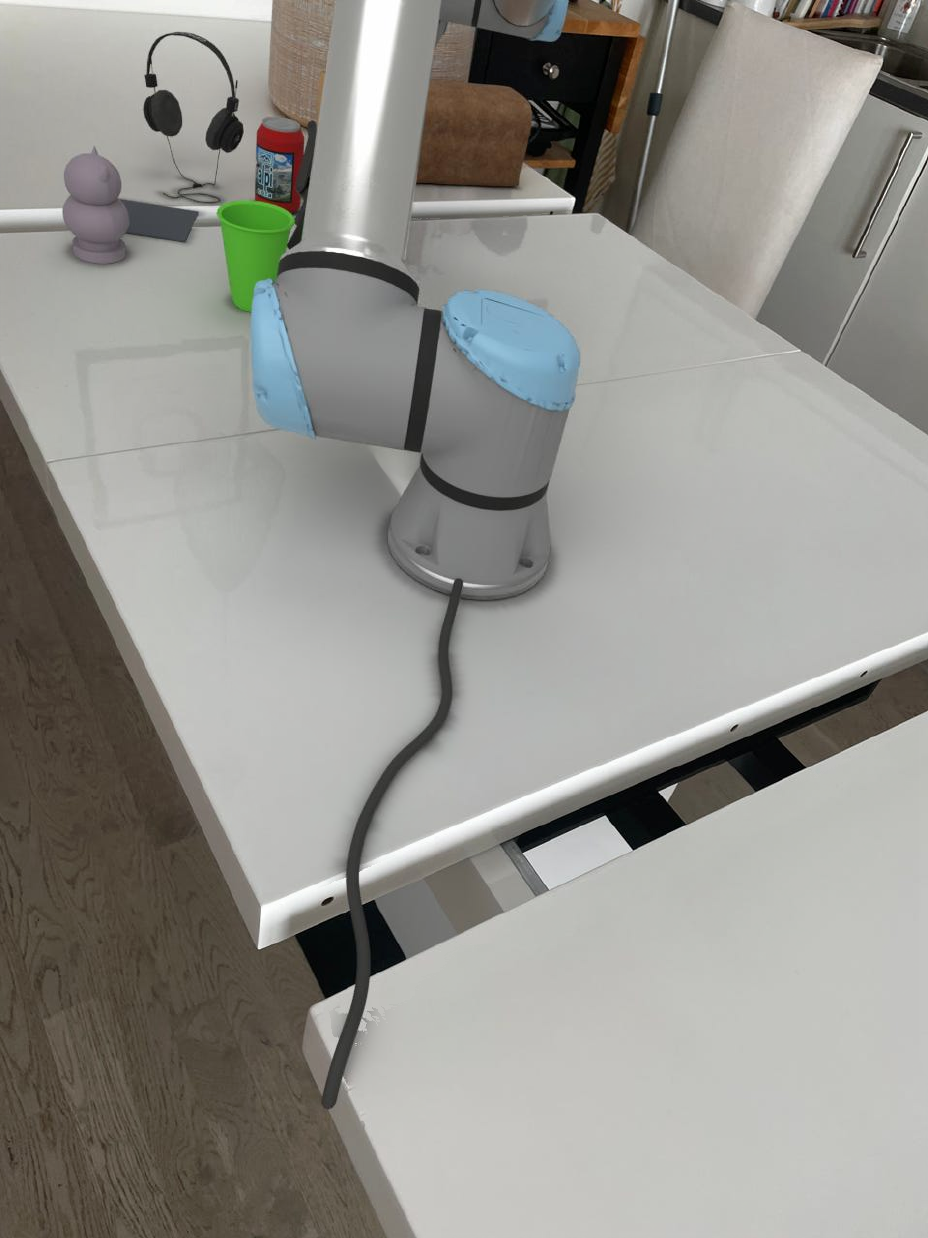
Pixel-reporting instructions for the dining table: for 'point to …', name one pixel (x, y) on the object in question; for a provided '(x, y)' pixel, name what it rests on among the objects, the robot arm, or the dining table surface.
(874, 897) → the dining table surface
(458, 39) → the planter
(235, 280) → the cup
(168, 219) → the placemat
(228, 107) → the headphones
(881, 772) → the dining table surface
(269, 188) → the beverage can
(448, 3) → the robot arm
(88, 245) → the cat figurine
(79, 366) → the dining table surface
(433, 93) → the bread
